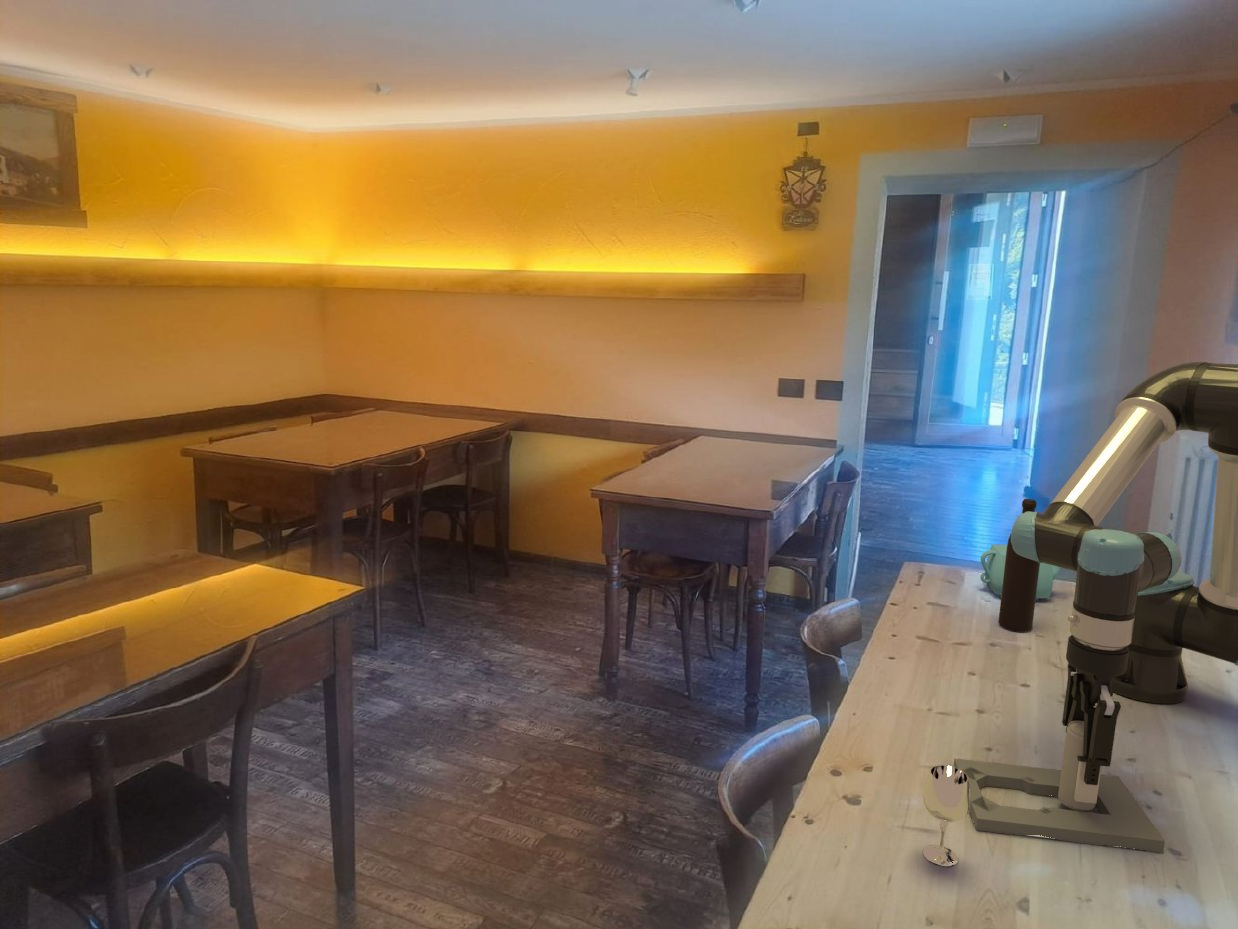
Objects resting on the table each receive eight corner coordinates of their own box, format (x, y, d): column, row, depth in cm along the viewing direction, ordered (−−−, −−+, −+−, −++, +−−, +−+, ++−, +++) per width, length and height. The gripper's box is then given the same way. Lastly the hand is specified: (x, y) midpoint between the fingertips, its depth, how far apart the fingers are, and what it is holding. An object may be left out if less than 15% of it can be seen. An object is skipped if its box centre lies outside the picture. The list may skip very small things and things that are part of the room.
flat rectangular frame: (1117, 787, 129) (1118, 776, 129) (1163, 853, 114) (1164, 841, 114) (953, 768, 134) (954, 758, 133) (976, 830, 118) (977, 818, 118)
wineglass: (910, 843, 115) (918, 763, 113) (951, 841, 116) (959, 762, 113) (929, 871, 110) (937, 788, 107) (971, 869, 110) (981, 786, 108)
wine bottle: (1033, 625, 194) (1049, 499, 188) (1029, 635, 188) (1045, 505, 182) (1000, 619, 198) (1014, 494, 192) (995, 628, 192) (1010, 500, 186)
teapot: (1023, 610, 204) (1030, 556, 201) (966, 589, 218) (972, 539, 215) (1069, 598, 213) (1076, 547, 210) (1012, 579, 227) (1017, 530, 224)
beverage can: (1099, 815, 120) (1110, 738, 118) (1063, 811, 121) (1073, 734, 119) (1088, 796, 125) (1098, 722, 123) (1053, 792, 126) (1063, 718, 123)
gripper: (1050, 614, 127) (1033, 755, 132) (1092, 664, 110) (1071, 823, 115) (1104, 619, 126) (1084, 760, 131) (1155, 669, 109) (1131, 830, 113)
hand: (1078, 789), depth 123 cm, fingers closed on beverage can, 5 cm apart
